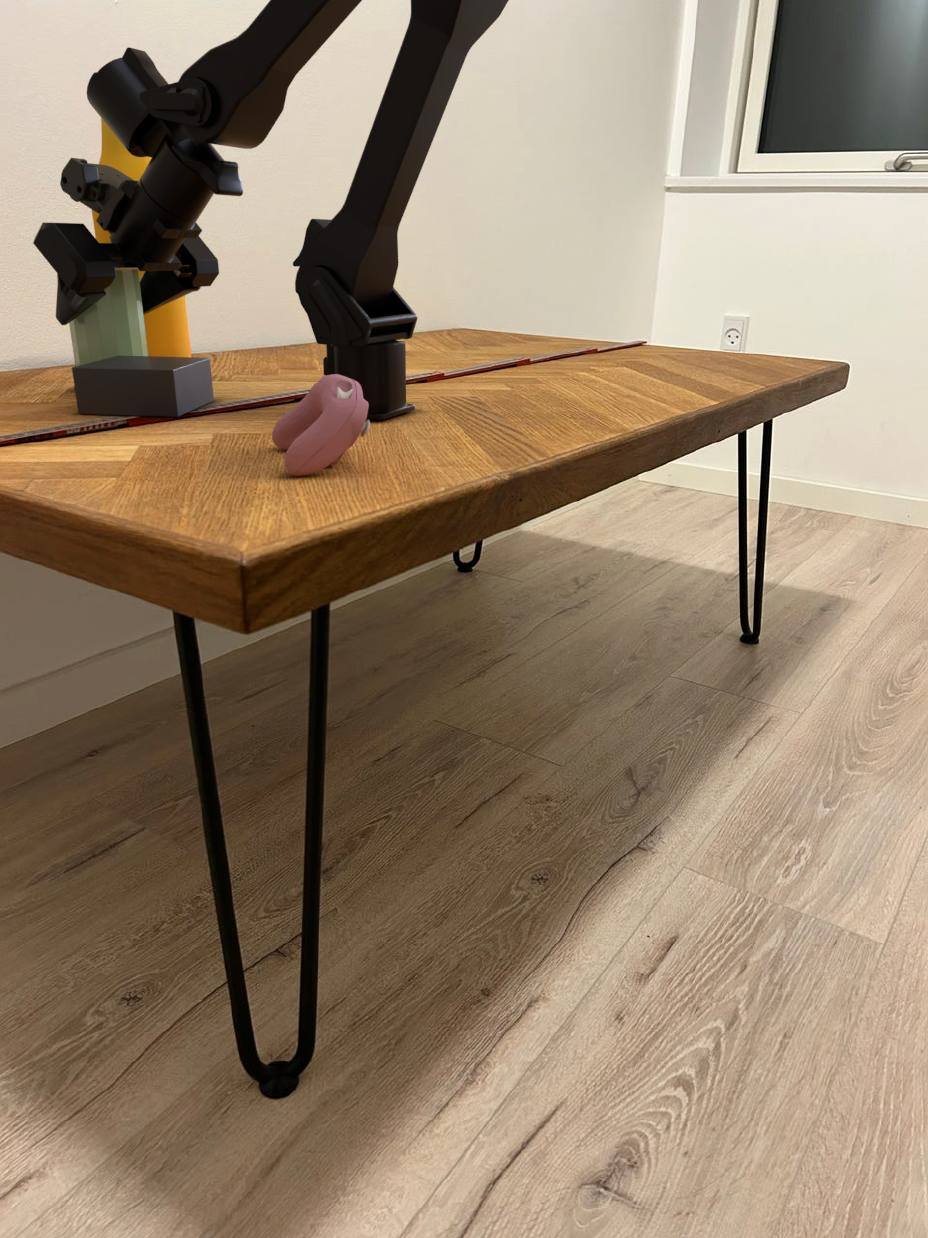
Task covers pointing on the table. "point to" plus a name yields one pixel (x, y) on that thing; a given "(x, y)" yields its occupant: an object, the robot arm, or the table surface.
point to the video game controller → (322, 425)
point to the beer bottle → (169, 320)
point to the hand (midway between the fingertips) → (96, 318)
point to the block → (143, 386)
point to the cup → (111, 323)
